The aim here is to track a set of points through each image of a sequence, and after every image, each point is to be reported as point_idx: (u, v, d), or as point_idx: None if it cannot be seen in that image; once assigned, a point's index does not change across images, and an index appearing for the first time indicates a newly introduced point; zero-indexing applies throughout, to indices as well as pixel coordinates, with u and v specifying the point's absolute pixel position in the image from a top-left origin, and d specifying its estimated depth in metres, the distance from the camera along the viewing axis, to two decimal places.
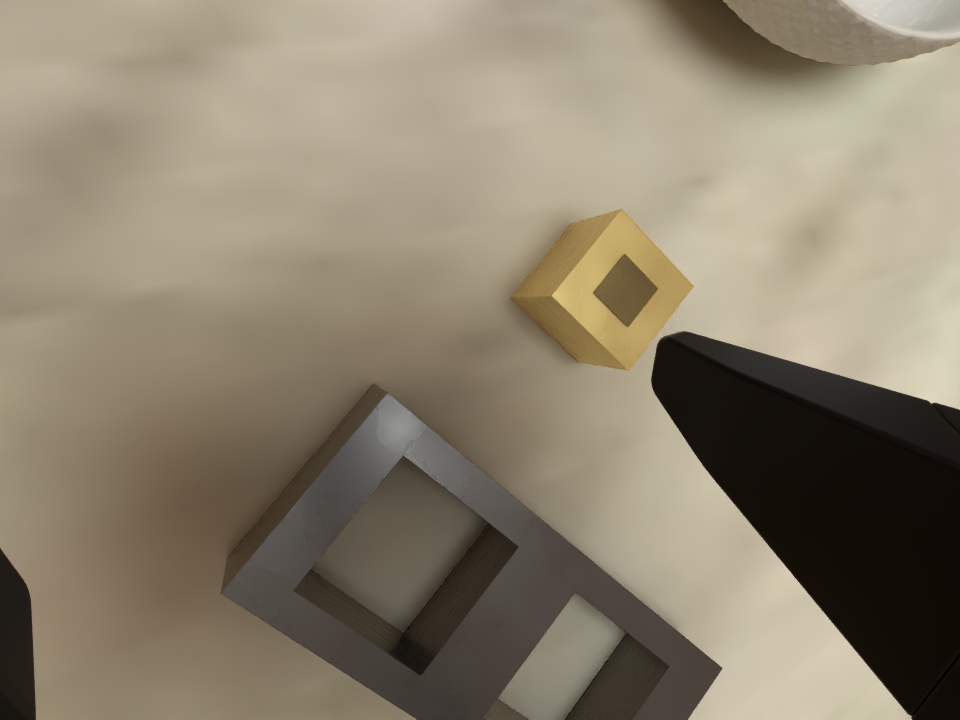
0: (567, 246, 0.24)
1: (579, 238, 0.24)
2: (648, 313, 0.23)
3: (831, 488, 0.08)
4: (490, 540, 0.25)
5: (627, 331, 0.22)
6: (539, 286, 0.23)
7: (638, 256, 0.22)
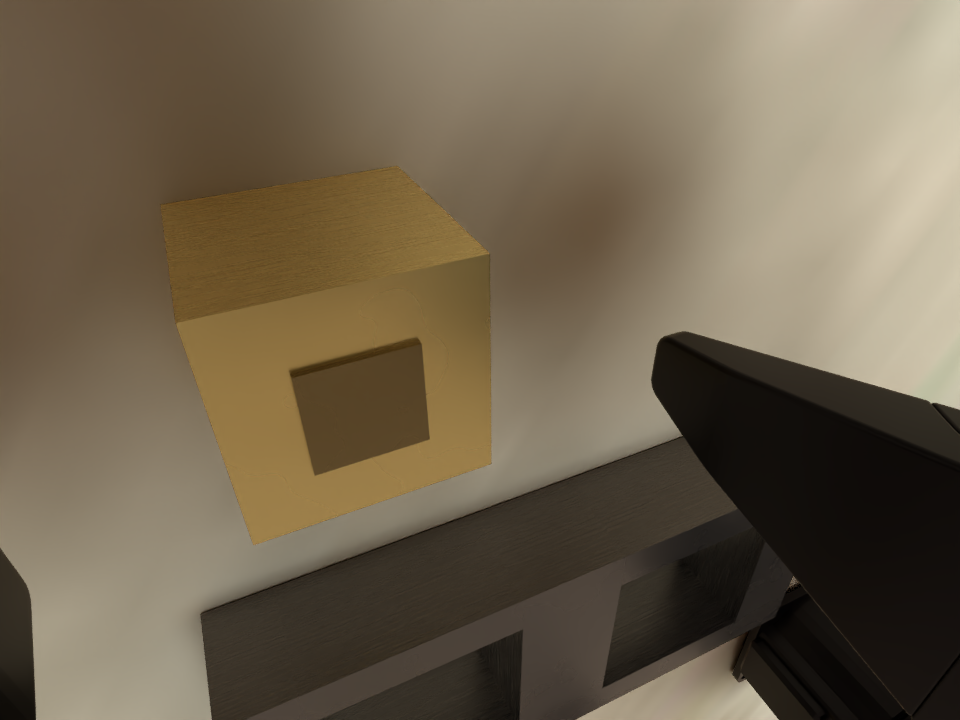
0: None
1: None
2: (444, 382, 0.10)
3: (831, 488, 0.08)
4: None
5: (435, 437, 0.10)
6: None
7: (322, 345, 0.08)
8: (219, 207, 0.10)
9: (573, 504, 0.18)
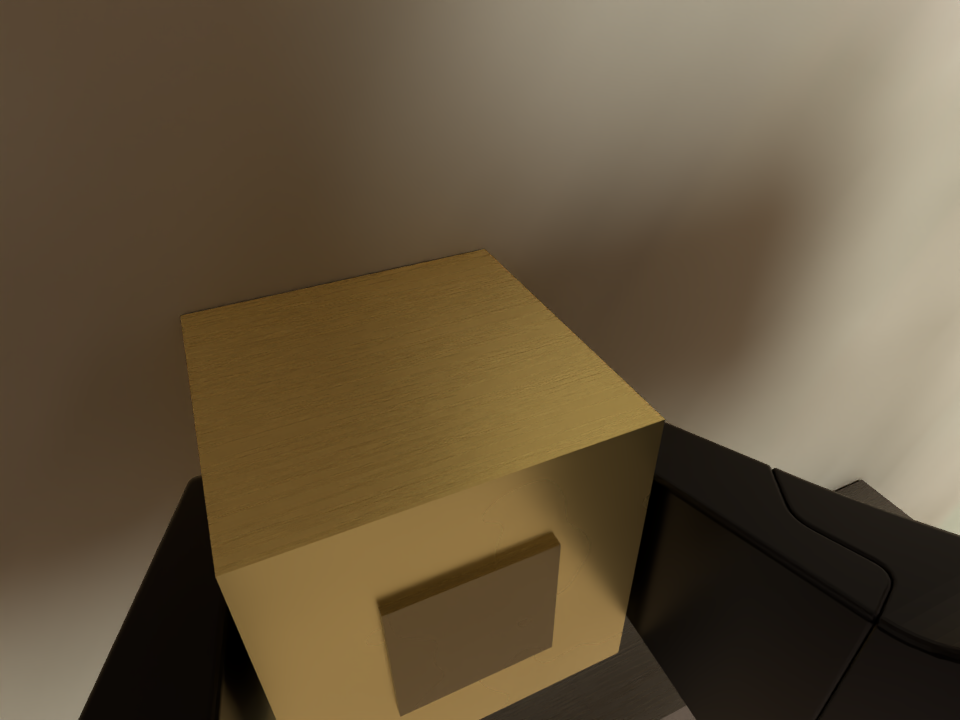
0: None
1: None
2: (579, 578, 0.07)
3: (668, 560, 0.07)
4: None
5: (557, 640, 0.07)
6: None
7: (426, 565, 0.06)
8: (261, 324, 0.07)
9: None
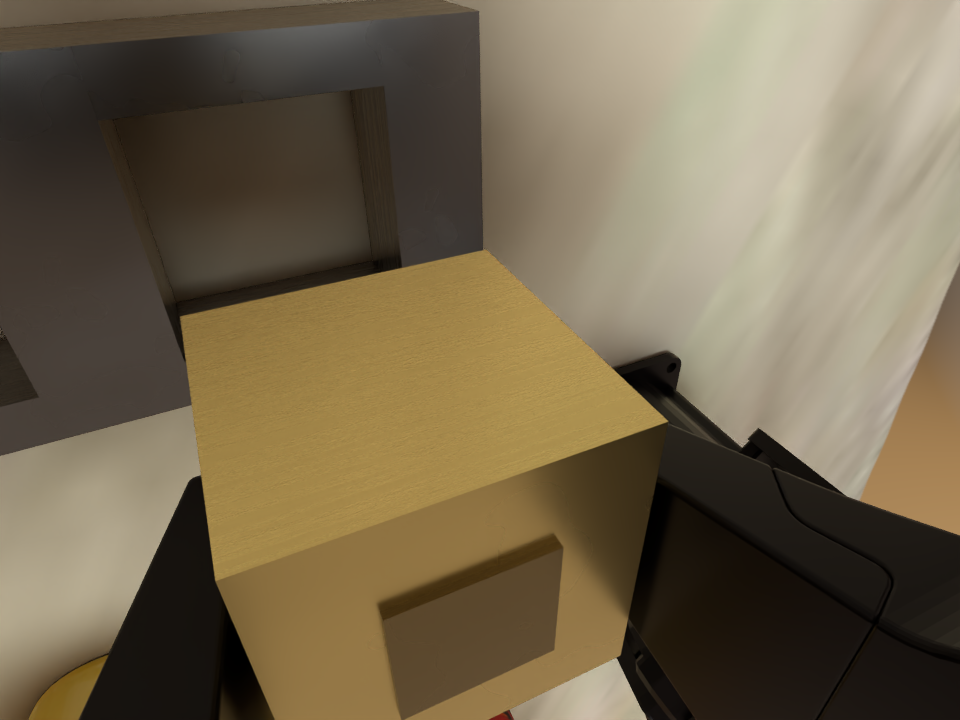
0: None
1: None
2: (581, 581, 0.07)
3: (668, 560, 0.07)
4: None
5: (559, 642, 0.07)
6: None
7: (428, 569, 0.06)
8: (261, 325, 0.07)
9: (58, 30, 0.12)
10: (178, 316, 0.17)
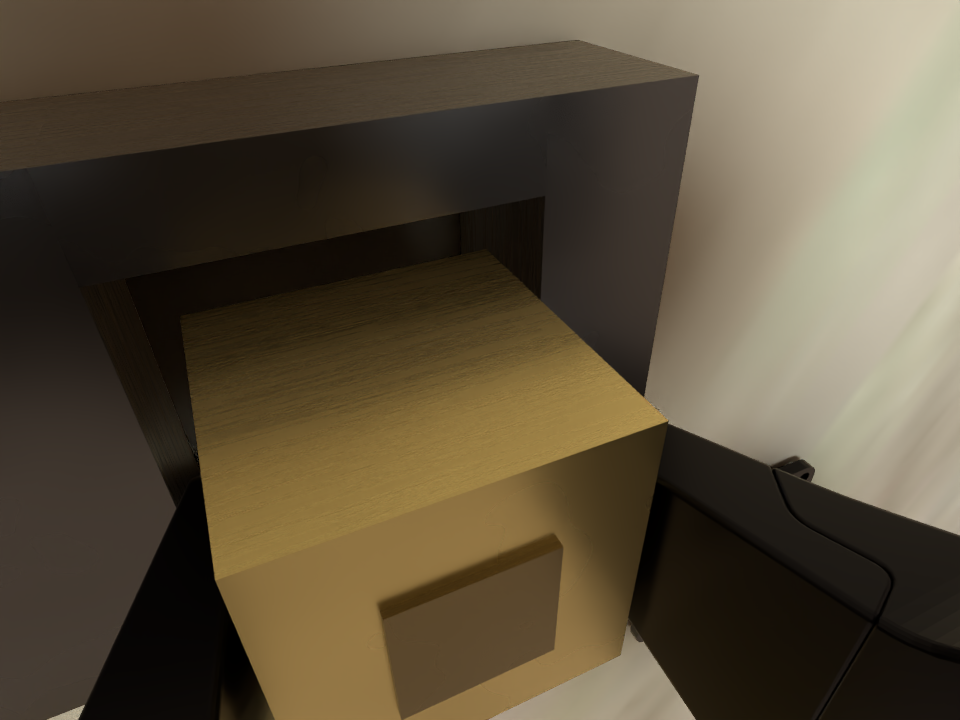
0: None
1: None
2: (582, 580, 0.07)
3: (668, 560, 0.07)
4: None
5: (560, 642, 0.07)
6: None
7: (428, 568, 0.06)
8: (261, 324, 0.07)
9: (14, 117, 0.07)
10: None
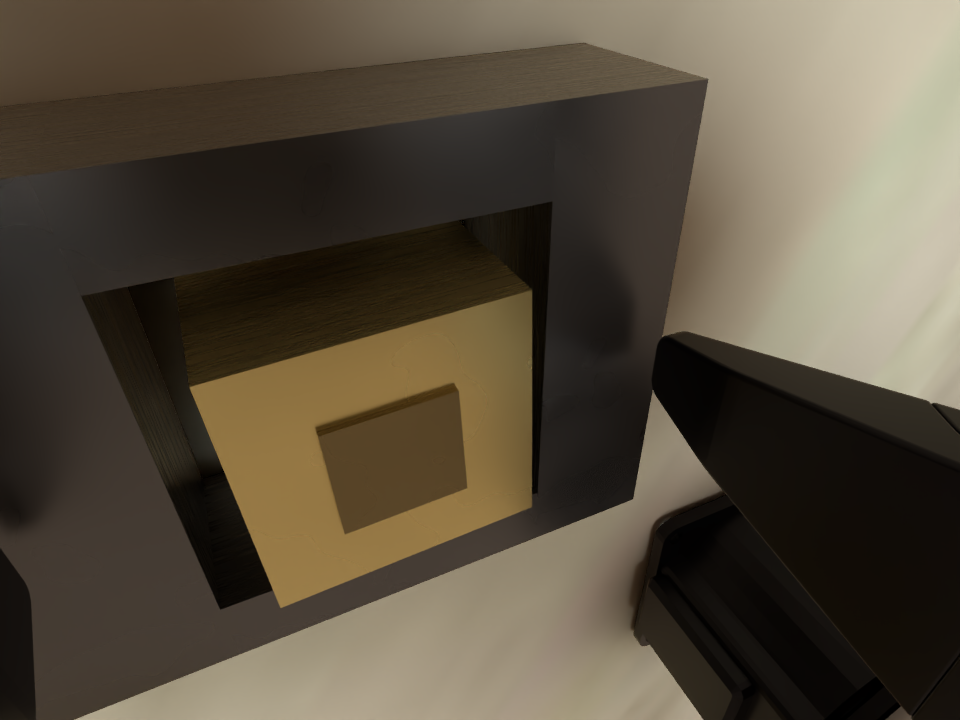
0: None
1: None
2: (482, 428, 0.09)
3: (831, 488, 0.08)
4: None
5: (473, 485, 0.09)
6: None
7: (350, 399, 0.07)
8: None
9: (15, 122, 0.07)
10: (206, 508, 0.11)
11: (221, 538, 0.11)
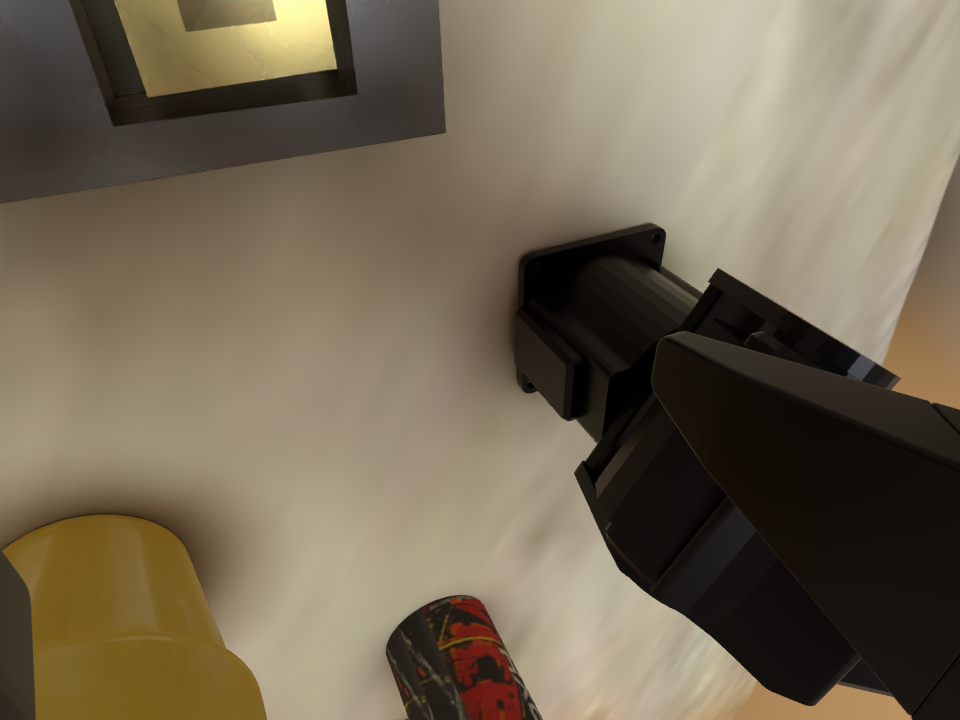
0: None
1: None
2: None
3: (831, 488, 0.08)
4: None
5: (283, 24, 0.13)
6: None
7: None
8: None
9: None
10: (114, 102, 0.15)
11: (122, 110, 0.15)
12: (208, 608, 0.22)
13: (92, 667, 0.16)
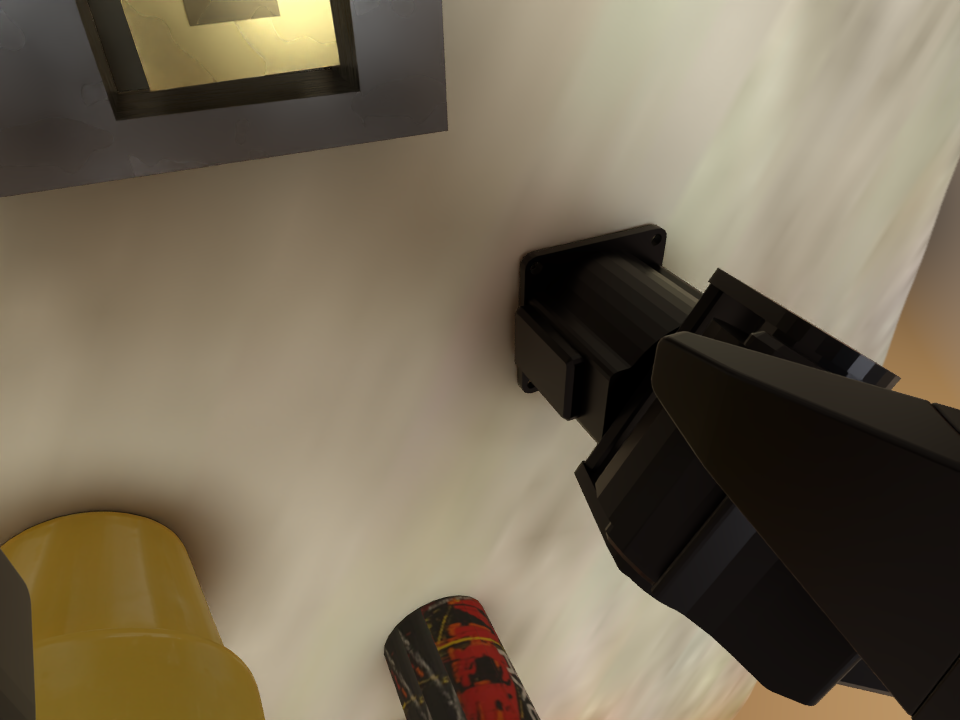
0: None
1: None
2: None
3: (831, 488, 0.08)
4: None
5: (286, 20, 0.13)
6: None
7: None
8: None
9: None
10: (117, 97, 0.15)
11: (124, 105, 0.15)
12: (206, 606, 0.22)
13: (90, 663, 0.16)
